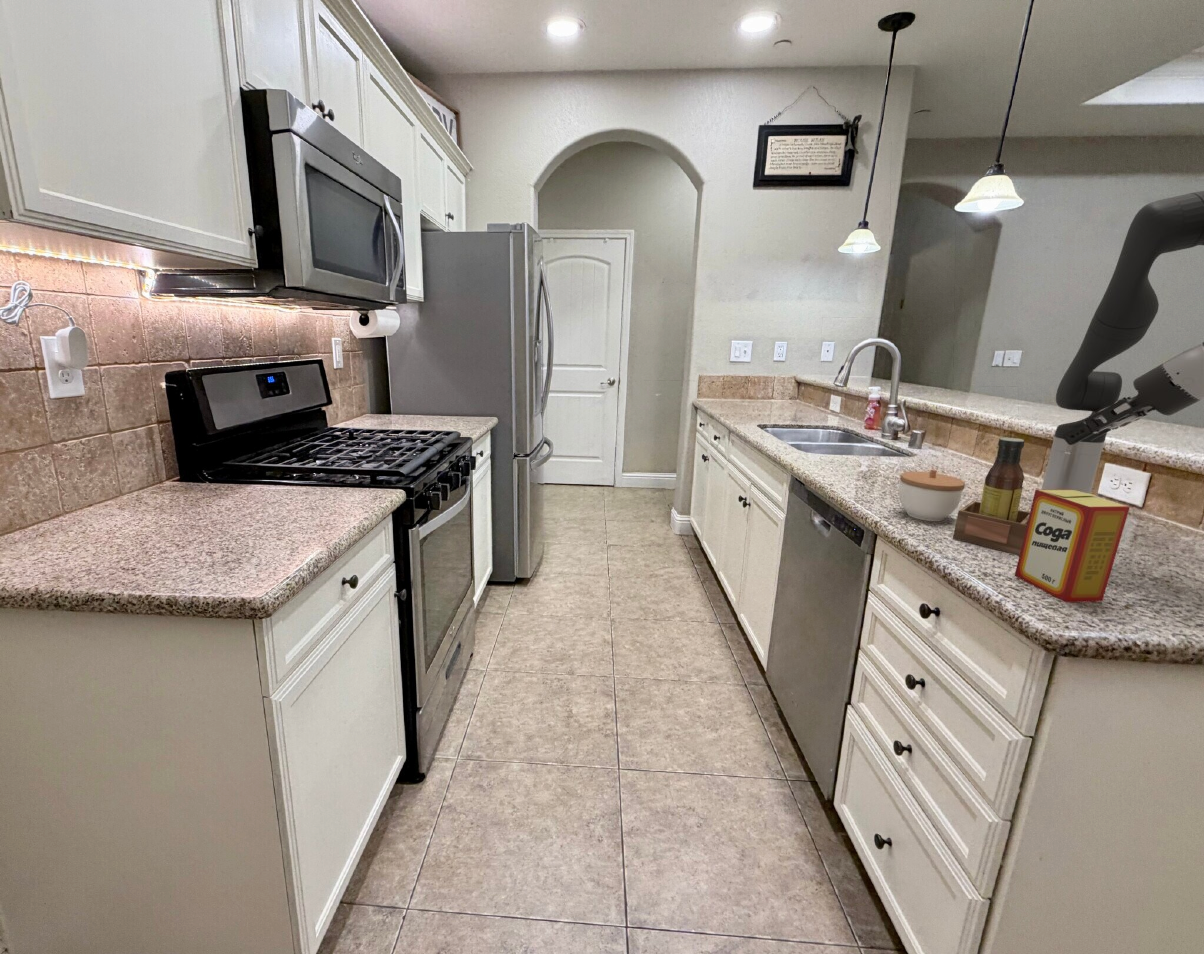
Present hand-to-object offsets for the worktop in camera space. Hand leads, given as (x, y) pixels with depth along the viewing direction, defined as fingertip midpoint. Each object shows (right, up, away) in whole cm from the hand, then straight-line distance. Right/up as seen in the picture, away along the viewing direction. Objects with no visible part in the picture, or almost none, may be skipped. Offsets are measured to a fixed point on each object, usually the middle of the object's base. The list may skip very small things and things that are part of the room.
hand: (1075, 438), depth 97 cm
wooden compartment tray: (-2, -21, +10) cm, 23 cm away
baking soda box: (-10, -25, -8) cm, 28 cm away
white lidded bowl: (-11, -16, +27) cm, 33 cm away
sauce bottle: (-6, -19, +13) cm, 24 cm away
